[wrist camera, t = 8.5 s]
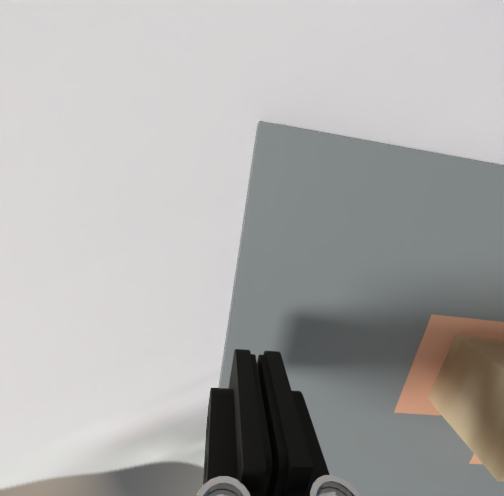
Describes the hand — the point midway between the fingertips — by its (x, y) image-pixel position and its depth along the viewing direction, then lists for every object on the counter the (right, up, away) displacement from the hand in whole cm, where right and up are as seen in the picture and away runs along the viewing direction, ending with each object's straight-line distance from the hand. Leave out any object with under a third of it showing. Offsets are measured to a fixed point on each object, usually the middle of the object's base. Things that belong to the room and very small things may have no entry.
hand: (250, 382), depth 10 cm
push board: (+10, -1, +5) cm, 11 cm away
